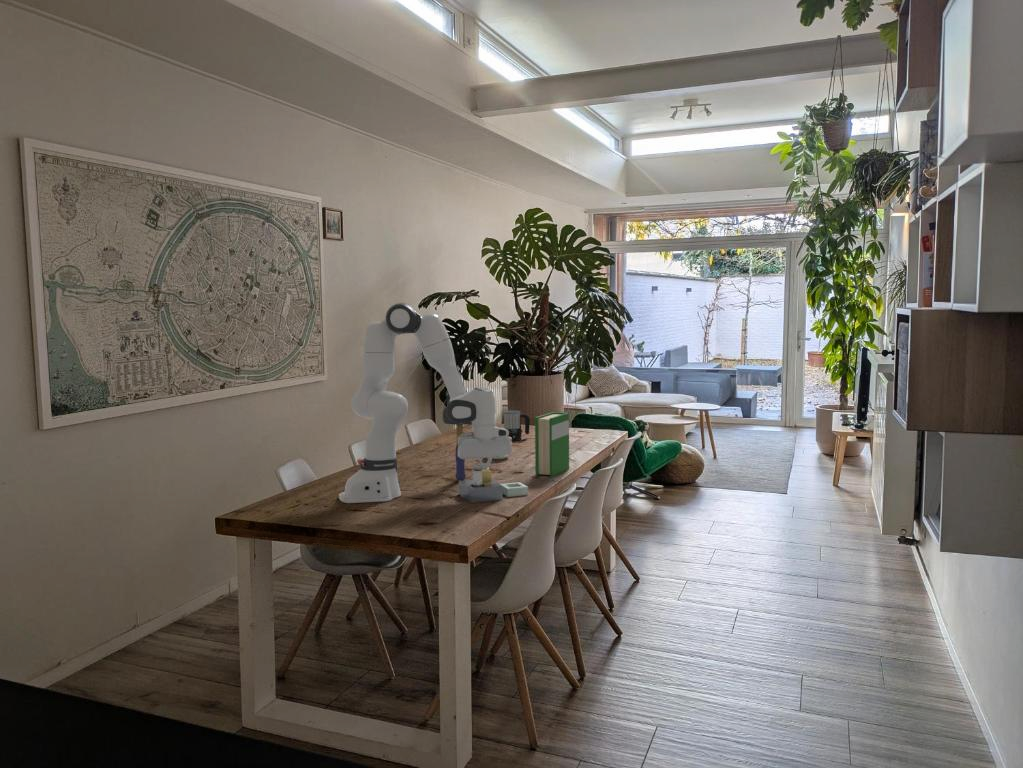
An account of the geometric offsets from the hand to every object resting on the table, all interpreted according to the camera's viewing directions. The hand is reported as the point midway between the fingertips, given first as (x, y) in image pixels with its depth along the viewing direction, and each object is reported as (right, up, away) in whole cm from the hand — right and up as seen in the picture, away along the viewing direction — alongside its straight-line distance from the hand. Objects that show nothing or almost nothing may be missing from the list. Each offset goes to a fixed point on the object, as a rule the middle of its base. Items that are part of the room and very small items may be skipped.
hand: (485, 468), depth 284 cm
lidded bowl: (+4, -3, +69) cm, 69 cm away
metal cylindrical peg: (-2, -10, -8) cm, 13 cm away
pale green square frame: (+11, -9, 0) cm, 14 cm away
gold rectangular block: (0, -7, 0) cm, 7 cm away
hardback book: (+27, -6, +37) cm, 46 cm away
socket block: (-2, -10, -4) cm, 11 cm away
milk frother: (+11, +2, +121) cm, 121 cm away
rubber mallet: (-11, -8, +22) cm, 26 cm away
